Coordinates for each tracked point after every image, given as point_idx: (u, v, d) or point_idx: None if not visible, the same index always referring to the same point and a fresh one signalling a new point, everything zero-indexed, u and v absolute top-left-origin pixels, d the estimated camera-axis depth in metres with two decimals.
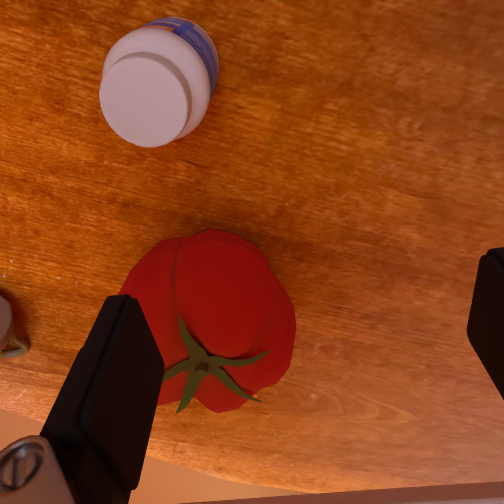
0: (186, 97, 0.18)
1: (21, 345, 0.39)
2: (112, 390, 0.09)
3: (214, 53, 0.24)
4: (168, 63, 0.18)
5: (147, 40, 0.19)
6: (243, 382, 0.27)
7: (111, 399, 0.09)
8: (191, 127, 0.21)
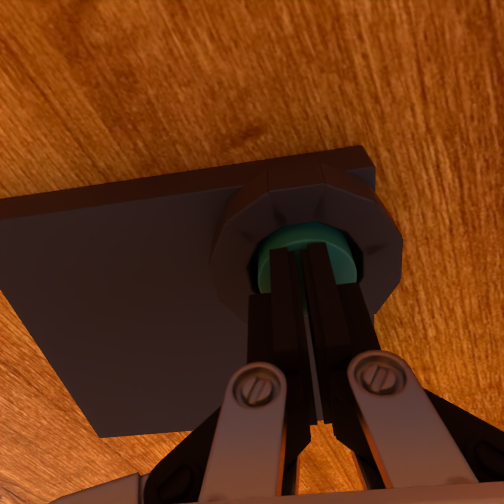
0: None
1: None
2: None
3: None
4: None
5: None
6: None
7: None
8: None
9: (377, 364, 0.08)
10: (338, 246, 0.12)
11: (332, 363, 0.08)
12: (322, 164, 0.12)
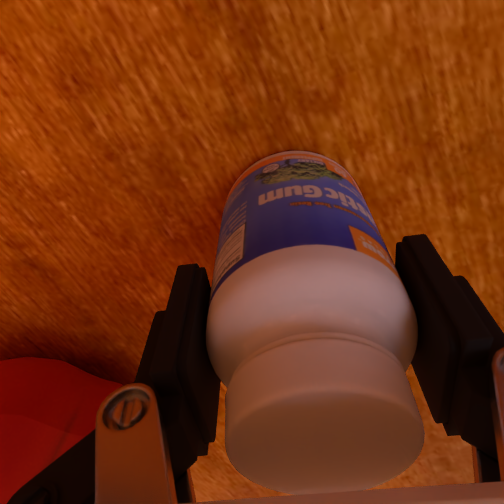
0: None
1: None
2: (196, 347, 0.10)
3: None
4: None
5: (397, 319, 0.09)
6: None
7: (196, 355, 0.09)
8: None
9: None
10: None
11: (466, 359, 0.08)
12: None
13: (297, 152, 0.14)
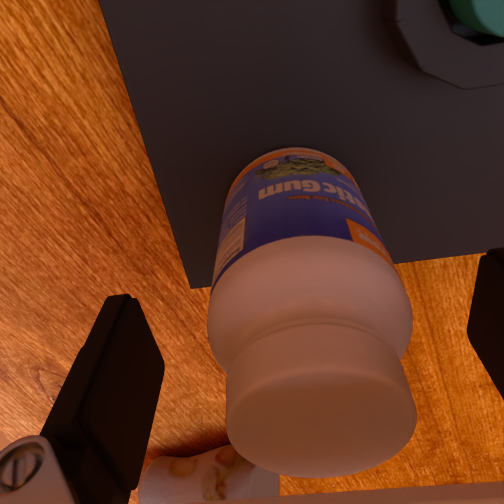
0: None
1: None
2: (112, 390, 0.09)
3: None
4: None
5: (392, 307, 0.09)
6: None
7: (111, 399, 0.09)
8: None
9: None
10: None
11: None
12: None
13: (296, 149, 0.14)
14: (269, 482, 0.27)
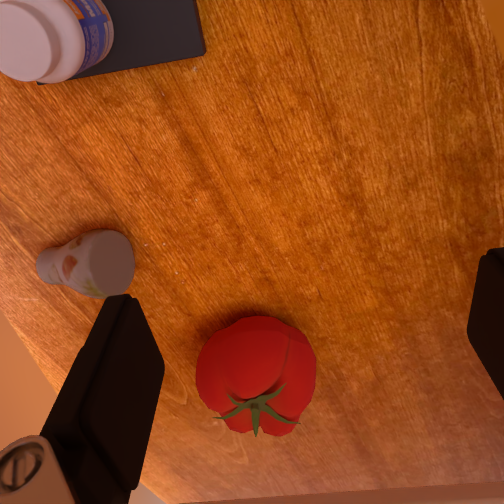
0: (48, 68, 0.23)
1: None
2: (112, 390, 0.09)
3: (105, 49, 0.30)
4: (54, 40, 0.23)
5: (55, 11, 0.24)
6: (267, 426, 0.45)
7: (111, 399, 0.09)
8: (42, 81, 0.26)
9: None
10: None
11: None
12: None
13: None
14: (120, 253, 0.41)
